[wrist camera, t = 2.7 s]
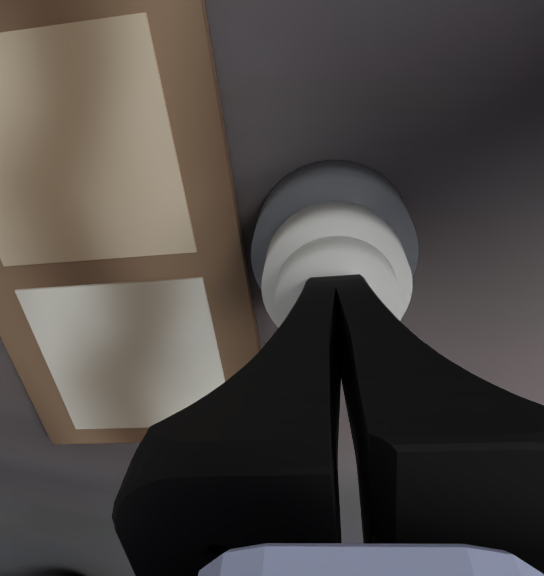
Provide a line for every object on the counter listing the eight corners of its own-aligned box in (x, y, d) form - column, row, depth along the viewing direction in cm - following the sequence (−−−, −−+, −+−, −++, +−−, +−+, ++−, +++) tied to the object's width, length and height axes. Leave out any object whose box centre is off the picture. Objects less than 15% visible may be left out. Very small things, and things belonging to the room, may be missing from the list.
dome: (405, 195, 13) (422, 231, 11) (403, 319, 15) (417, 370, 13) (257, 207, 13) (246, 243, 11) (274, 326, 15) (267, 375, 13)
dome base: (410, 152, 14) (421, 169, 13) (406, 294, 17) (415, 323, 15) (247, 167, 15) (239, 186, 14) (266, 302, 18) (262, 331, 16)
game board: (111, -582, 8) (97, -622, 8) (273, 430, 21) (272, 441, 20) (-358, -441, 10) (-395, -466, 9) (57, 435, 22) (51, 446, 22)
